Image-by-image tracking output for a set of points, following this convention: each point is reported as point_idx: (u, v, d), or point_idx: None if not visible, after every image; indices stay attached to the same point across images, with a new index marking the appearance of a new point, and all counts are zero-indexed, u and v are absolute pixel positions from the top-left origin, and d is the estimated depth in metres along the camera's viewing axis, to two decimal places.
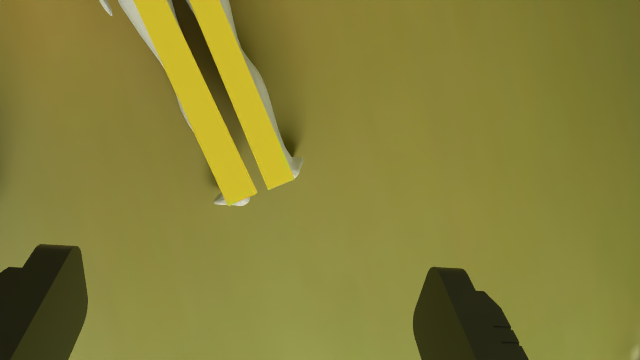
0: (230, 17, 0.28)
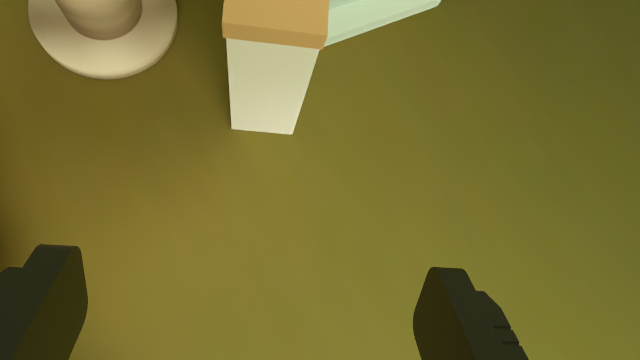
0: None
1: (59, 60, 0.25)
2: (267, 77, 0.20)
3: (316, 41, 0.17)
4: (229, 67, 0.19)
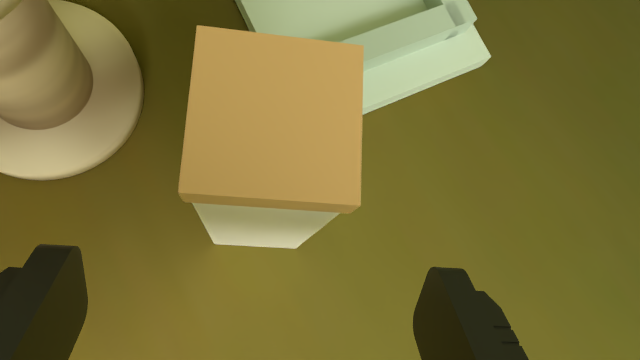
0: None
1: None
2: (259, 222, 0.13)
3: (339, 208, 0.10)
4: (201, 216, 0.12)
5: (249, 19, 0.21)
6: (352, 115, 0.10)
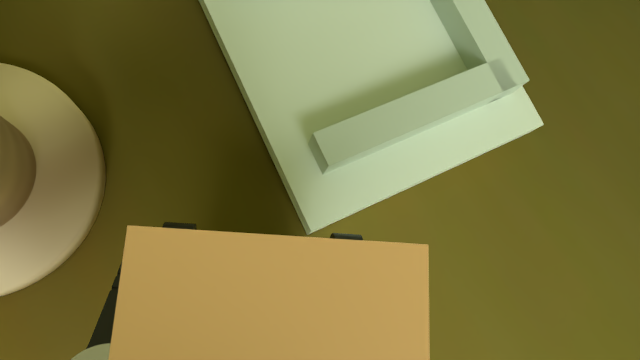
0: None
1: None
2: None
3: None
4: None
5: (241, 82, 0.17)
6: None
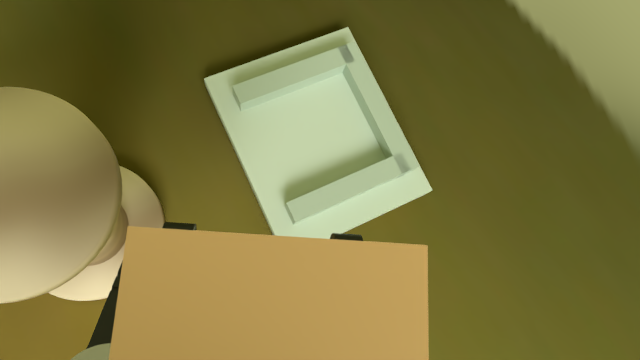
0: None
1: None
2: None
3: None
4: None
5: (245, 169, 0.28)
6: None
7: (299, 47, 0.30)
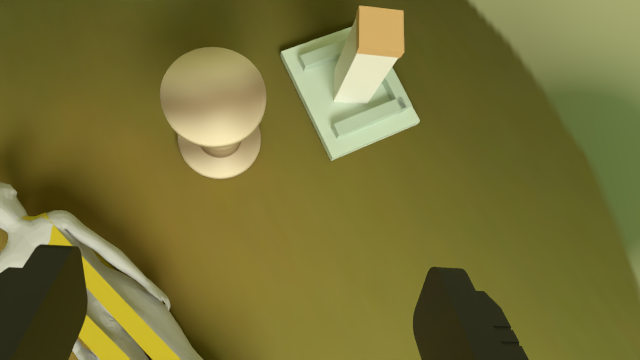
0: (182, 338, 0.39)
1: (196, 170, 0.43)
2: (367, 71, 0.41)
3: (398, 54, 0.37)
4: (351, 66, 0.40)
5: (307, 105, 0.47)
6: (401, 29, 0.37)
7: (338, 33, 0.49)
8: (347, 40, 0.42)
